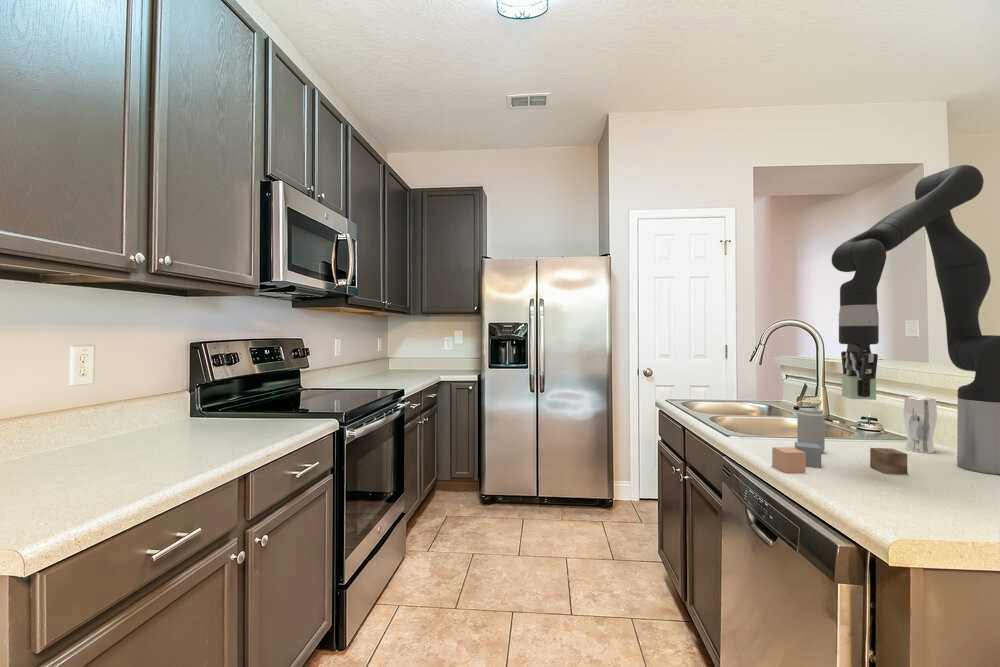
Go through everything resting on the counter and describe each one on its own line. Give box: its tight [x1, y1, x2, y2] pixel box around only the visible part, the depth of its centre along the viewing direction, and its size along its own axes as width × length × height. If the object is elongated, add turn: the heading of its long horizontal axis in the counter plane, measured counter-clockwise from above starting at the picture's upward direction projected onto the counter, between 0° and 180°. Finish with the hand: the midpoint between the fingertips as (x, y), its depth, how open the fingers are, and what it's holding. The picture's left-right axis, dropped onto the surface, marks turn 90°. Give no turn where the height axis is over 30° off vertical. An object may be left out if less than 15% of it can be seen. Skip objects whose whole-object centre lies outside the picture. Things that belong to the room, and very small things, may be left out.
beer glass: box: [903, 396, 938, 454], centre depth 129 cm, size 7×7×15 cm
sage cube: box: [841, 375, 877, 401], centre depth 108 cm, size 5×5×5 cm
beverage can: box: [796, 407, 826, 454], centre depth 128 cm, size 6×6×12 cm
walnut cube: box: [869, 447, 908, 475], centre depth 110 cm, size 5×5×5 cm
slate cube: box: [794, 441, 822, 469], centre depth 116 cm, size 5×5×5 cm
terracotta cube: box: [771, 446, 807, 474], centre depth 111 cm, size 5×5×5 cm
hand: (858, 394), depth 108 cm, fingers closed on sage cube, 5 cm apart
